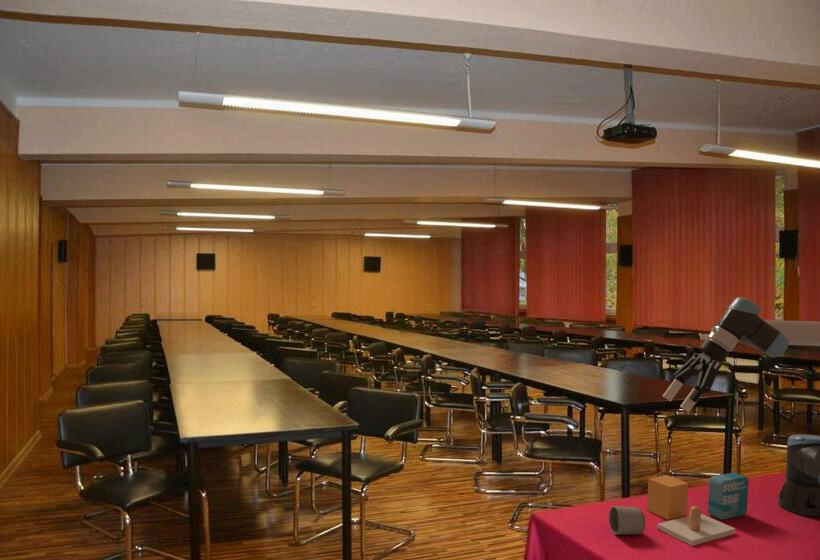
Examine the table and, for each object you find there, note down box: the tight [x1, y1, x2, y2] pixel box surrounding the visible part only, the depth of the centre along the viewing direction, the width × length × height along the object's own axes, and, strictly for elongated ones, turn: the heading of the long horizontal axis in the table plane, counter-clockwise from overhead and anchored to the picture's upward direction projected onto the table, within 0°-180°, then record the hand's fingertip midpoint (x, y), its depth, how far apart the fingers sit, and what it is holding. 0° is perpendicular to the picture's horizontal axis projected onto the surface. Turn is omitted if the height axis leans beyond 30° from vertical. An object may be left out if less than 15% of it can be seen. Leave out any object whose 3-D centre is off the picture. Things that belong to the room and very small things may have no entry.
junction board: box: [656, 505, 736, 547], centre depth 195 cm, size 18×12×8 cm, turn 119°
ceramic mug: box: [608, 505, 646, 536], centre depth 195 cm, size 11×8×8 cm
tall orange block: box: [646, 474, 689, 521], centre depth 208 cm, size 8×8×10 cm
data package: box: [707, 472, 750, 521], centre depth 208 cm, size 12×4×12 cm, turn 115°
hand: (675, 404), depth 200 cm, fingers open, 13 cm apart
